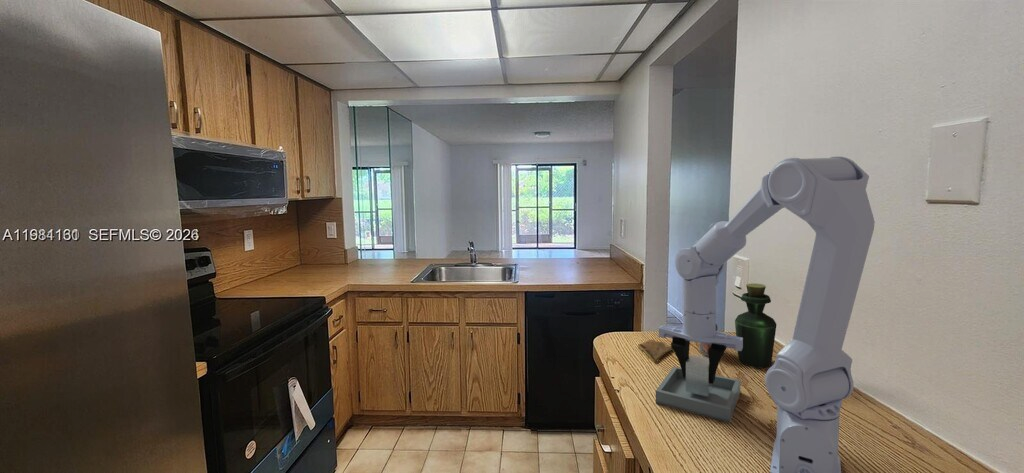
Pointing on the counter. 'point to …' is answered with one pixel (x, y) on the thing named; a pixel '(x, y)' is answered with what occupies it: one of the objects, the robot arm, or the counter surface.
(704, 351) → the lighter
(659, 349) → the shard
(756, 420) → the counter surface
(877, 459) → the counter surface
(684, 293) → the robot arm
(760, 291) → the potion bottle
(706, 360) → the aluminium block
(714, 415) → the tray
